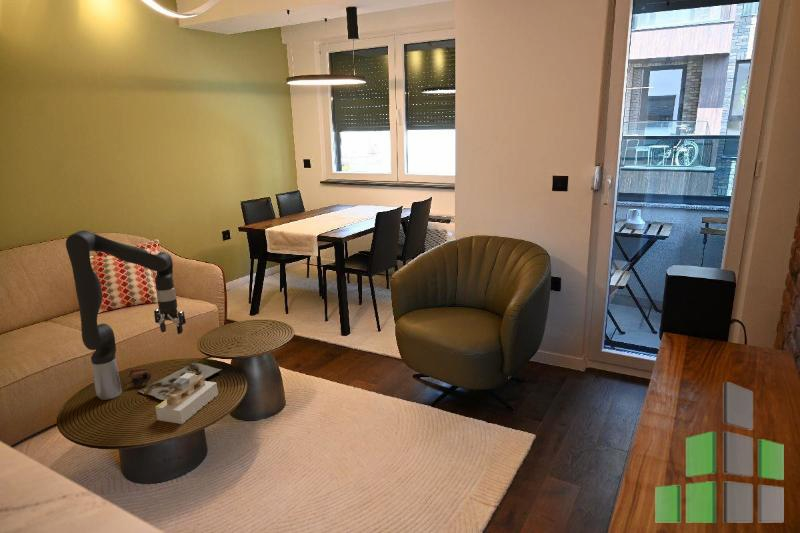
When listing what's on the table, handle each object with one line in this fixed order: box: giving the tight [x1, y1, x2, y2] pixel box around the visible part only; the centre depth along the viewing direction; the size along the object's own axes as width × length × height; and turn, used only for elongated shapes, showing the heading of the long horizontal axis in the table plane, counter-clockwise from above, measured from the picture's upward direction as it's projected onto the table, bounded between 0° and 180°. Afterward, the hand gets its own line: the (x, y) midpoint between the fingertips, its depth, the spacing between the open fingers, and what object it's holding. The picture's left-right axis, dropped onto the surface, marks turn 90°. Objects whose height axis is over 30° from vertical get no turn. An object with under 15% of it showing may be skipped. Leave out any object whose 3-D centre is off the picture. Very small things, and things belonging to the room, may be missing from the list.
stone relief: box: [137, 362, 222, 401], centre depth 237 cm, size 32×3×20 cm
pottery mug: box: [128, 368, 152, 388], centre depth 237 cm, size 12×10×8 cm
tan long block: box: [165, 374, 206, 406], centre depth 213 cm, size 5×18×4 cm, turn 164°
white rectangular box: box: [155, 380, 219, 425], centre depth 215 cm, size 12×24×6 cm, turn 164°
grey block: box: [172, 378, 190, 391], centre depth 210 cm, size 4×4×3 cm
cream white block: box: [180, 373, 196, 385], centre depth 214 cm, size 4×4×3 cm
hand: (172, 332), depth 223 cm, fingers open, 8 cm apart
